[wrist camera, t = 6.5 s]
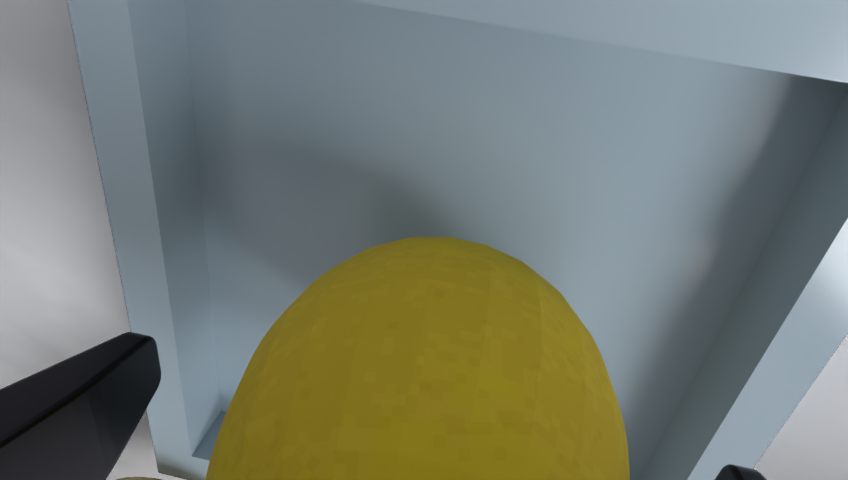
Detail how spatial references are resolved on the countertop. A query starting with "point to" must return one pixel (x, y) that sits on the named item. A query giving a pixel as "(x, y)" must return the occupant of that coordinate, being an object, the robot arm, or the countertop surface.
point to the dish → (488, 185)
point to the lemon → (425, 377)
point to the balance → (138, 478)
